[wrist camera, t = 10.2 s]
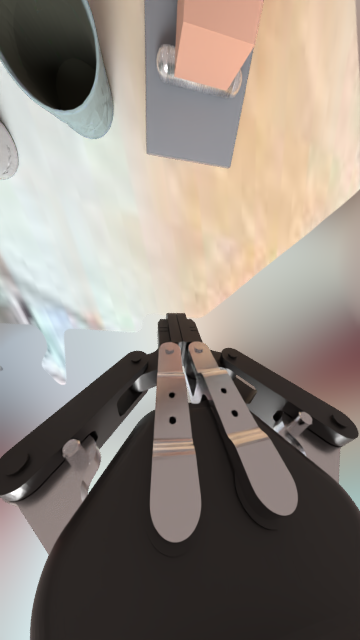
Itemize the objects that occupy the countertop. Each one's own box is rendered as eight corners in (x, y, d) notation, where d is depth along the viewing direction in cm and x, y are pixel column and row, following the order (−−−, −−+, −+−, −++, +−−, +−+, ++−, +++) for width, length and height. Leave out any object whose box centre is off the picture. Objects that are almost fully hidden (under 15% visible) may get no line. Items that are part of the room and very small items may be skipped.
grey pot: (113, 53, 23) (85, -64, 13) (122, 152, 29) (107, 121, 19) (34, 35, 22) (-64, -113, 12) (60, 143, 27) (8, 104, 17)
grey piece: (228, 168, 32) (241, 160, 27) (147, 154, 29) (146, 142, 24) (288, -147, 18) (340, -283, 13) (141, -232, 15) (136, -447, 10)
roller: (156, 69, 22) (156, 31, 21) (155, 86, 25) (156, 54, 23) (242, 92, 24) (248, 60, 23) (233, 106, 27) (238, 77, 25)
